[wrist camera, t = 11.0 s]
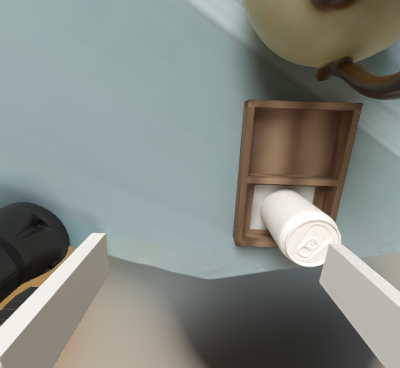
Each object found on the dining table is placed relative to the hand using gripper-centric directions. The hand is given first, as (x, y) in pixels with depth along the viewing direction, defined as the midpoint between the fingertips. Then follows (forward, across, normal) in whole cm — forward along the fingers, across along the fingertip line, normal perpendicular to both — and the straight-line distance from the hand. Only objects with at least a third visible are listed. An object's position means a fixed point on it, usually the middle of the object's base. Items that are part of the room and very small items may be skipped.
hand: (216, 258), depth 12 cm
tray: (+26, +15, -1) cm, 30 cm away
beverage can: (+26, +15, -7) cm, 30 cm away
